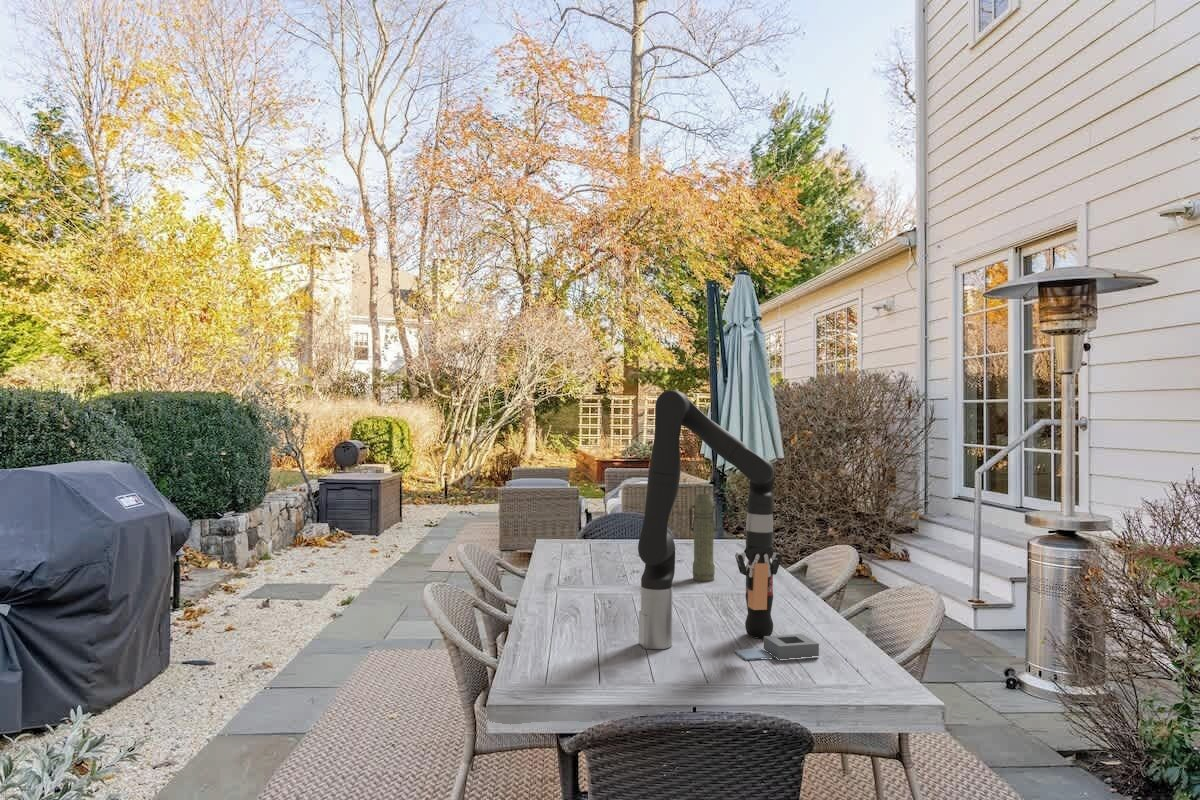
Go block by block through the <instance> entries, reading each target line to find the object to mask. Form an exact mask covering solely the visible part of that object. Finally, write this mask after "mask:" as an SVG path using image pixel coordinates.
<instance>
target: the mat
mask: <svg viewBox="0 0 1200 800" xmlns="http://www.w3.org/2000/svg"><path fill="white" fill-rule="evenodd" d="M735 652H736V653H738V654H739V655H740V656H741V657H740V656H739V655H738V654H737V655H738V656H739V657H740V658H742V657H743V658H744V659H745V660H744V659H743V658H742V659H743V660H744V661H746V660H750V661H754V660H753V659H761V658H772V657H773V656H771V655H770V654H769V653H767V652H766V651H764V649H762V647H759V648H746V649H745V648H744V649H734V653H735ZM736 653H735V654H736Z"/></svg>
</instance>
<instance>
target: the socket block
mask: <svg viewBox="0 0 1200 800" xmlns="http://www.w3.org/2000/svg"><path fill="white" fill-rule="evenodd" d="M819 648H820V644H819V642H816V641H815V640H813V639H812V638H810V637H808V636H806V635H805V634H803V633H793V634H781V635H780V634H779V635H778V634H777V635H771V636H764V638H763V650H764V649H765V650H766V651H768V652H769V653H771V654H772V655H773V656H775V657H777V658H778V659H779V660H780V659H789V658H801V657H812V656H819V657H820V649H819ZM766 651H765V652H766ZM769 653H768V654H769ZM773 656H772V657H773ZM779 660H778V661H779Z"/></svg>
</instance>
